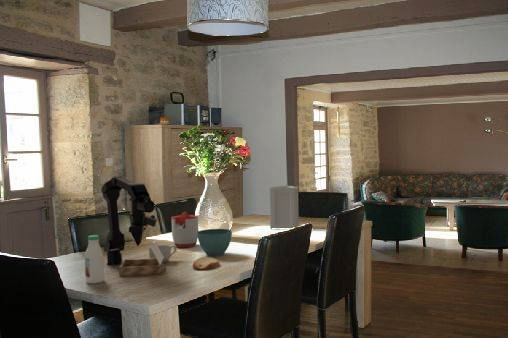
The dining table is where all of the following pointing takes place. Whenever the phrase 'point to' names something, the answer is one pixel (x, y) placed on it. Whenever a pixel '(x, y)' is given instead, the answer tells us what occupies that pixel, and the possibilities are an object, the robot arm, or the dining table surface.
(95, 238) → the milk bottle
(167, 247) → the teacup
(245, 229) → the dining table surface
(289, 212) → the tall grey box
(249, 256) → the dining table surface
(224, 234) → the teal bowl
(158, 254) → the grey flat panel
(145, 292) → the dining table surface
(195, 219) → the citrus juicer
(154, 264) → the wooden tray
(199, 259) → the slice of bread
